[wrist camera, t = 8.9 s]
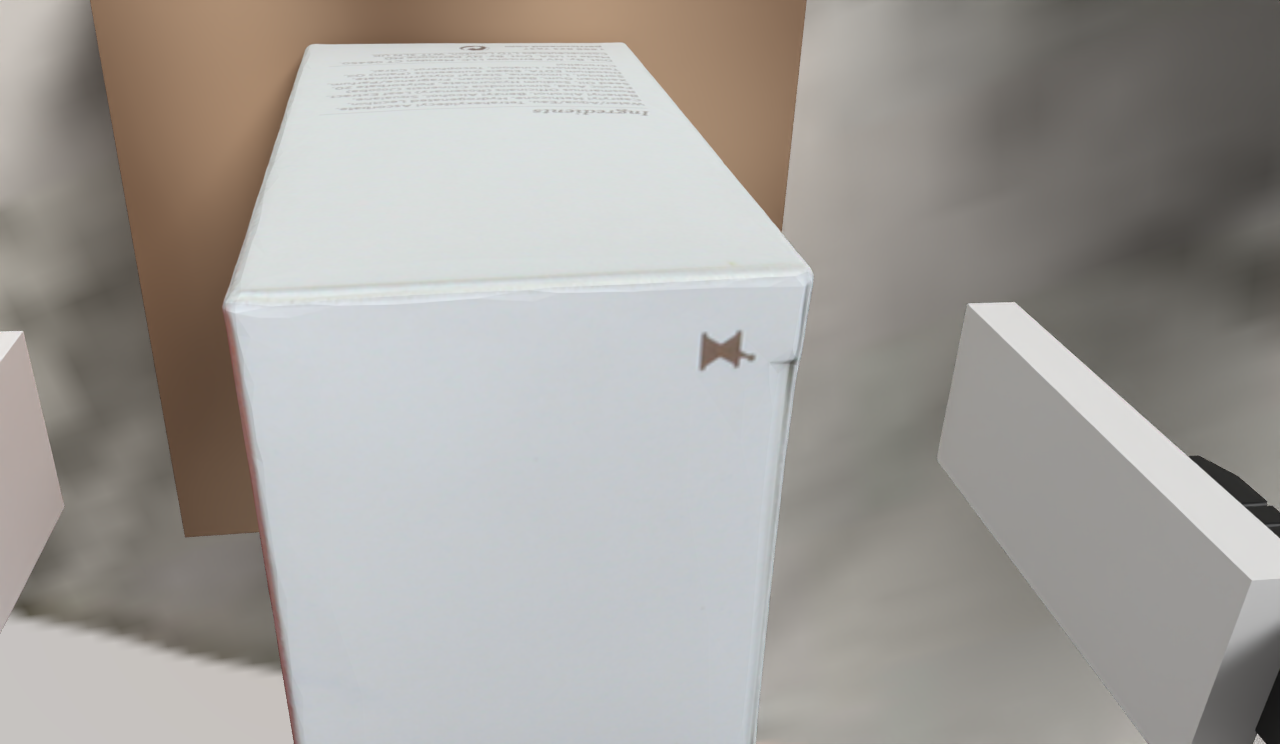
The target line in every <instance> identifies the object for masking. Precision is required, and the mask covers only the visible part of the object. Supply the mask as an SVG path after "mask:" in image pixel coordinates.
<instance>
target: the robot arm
mask: <svg viewBox="0 0 1280 744" xmlns="http://www.w3.org/2000/svg"><path fill="white" fill-rule="evenodd" d="M937 461H938V463H939V464H940V465H941V467H942V468H943V469H944V471H945V472H946V473H947V475H948V476H949V477H950V479H951V480H952V481H953V483H954V484H955V485H956V487H957V488H958V489H959V491H960V492H961V494H962V495H963V496H964V498H965V499H966V500H967V502H968V503H969V504H970V506H971V507H972V508H973V510H974V511H975V512H976V514H977V515H978V516H979V518H980V519H981V520H982V522H983V523H984V524H985V526H986V527H987V528H988V530H989V531H990V532H991V534H992V535H993V536H994V538H995V539H996V540H997V542H998V543H999V544H1000V546H1001V547H1002V549H1003V550H1004V551H1005V553H1006V554H1007V555H1008V557H1009V558H1010V559H1011V561H1012V562H1013V563H1014V565H1015V566H1016V567H1017V569H1018V570H1019V571H1020V573H1021V574H1022V575H1023V577H1024V578H1025V579H1026V581H1027V582H1028V583H1029V585H1030V586H1031V587H1032V589H1033V590H1034V591H1035V593H1036V594H1037V595H1038V597H1039V598H1040V599H1041V601H1042V602H1043V604H1044V605H1045V606H1046V608H1047V609H1048V610H1049V612H1050V613H1051V614H1052V616H1053V617H1054V618H1055V620H1056V621H1057V622H1058V624H1059V625H1060V626H1061V628H1062V629H1063V630H1064V632H1065V633H1066V634H1067V636H1068V637H1069V638H1070V640H1071V641H1072V642H1073V644H1074V645H1075V646H1076V648H1077V649H1078V650H1079V652H1080V653H1081V654H1082V656H1083V657H1084V659H1085V660H1086V661H1087V663H1088V664H1089V665H1090V667H1091V668H1092V669H1093V671H1094V672H1095V673H1096V675H1097V676H1098V677H1099V679H1100V680H1101V681H1102V683H1103V684H1104V685H1105V687H1106V688H1107V689H1108V691H1109V692H1110V693H1111V695H1112V696H1113V697H1114V699H1115V700H1116V701H1117V703H1118V704H1119V705H1120V707H1121V708H1122V710H1123V711H1124V712H1125V714H1126V715H1127V716H1128V718H1129V719H1130V720H1131V722H1132V723H1133V724H1134V726H1135V727H1136V728H1137V730H1138V731H1139V732H1140V734H1141V735H1142V736H1143V738H1144V739H1145V740H1146V742H1147V743H1148V744H1253V742H1254V740H1255V737H1256V735H1257V733H1258V735H1259V736H1260V737H1261V738H1262V739H1263V740H1264V742H1265V743H1266V744H1280V512H1279V511H1278V510H1277V509H1275V508H1274V507H1273V506H1267V501H1266V500H1265V499H1264V498H1263V497H1261V496H1260V495H1259V494H1258V493H1257V492H1256V491H1255V490H1253V489H1252V488H1251V487H1250V486H1249V485H1248V484H1246V483H1245V482H1244V481H1243V480H1242V479H1241V478H1239V477H1238V476H1236V475H1235V474H1233V473H1231V472H1229V471H1227V470H1225V469H1223V468H1221V467H1219V466H1217V465H1216V464H1214V463H1212V462H1210V461H1208V460H1206V459H1204V458H1202V457H1200V456H1187V455H1186V454H1185V453H1183V452H1182V451H1181V450H1180V449H1179V448H1178V447H1177V446H1176V445H1174V444H1173V443H1172V442H1171V441H1170V440H1169V439H1168V438H1167V437H1166V436H1164V435H1163V434H1162V433H1161V432H1160V431H1159V430H1158V429H1157V428H1155V427H1154V426H1153V425H1152V424H1151V423H1150V422H1149V421H1148V420H1146V419H1145V418H1144V417H1143V416H1142V415H1141V414H1140V413H1139V412H1137V411H1136V410H1135V409H1134V408H1133V407H1132V406H1131V405H1130V404H1128V403H1127V402H1126V401H1125V400H1124V399H1123V398H1122V397H1121V396H1119V395H1118V394H1117V393H1116V392H1115V391H1114V390H1113V389H1112V388H1111V387H1109V386H1108V385H1107V384H1106V383H1105V382H1104V381H1103V380H1102V379H1100V378H1099V377H1098V376H1097V375H1096V374H1095V373H1094V372H1093V371H1091V370H1090V369H1089V368H1088V367H1087V366H1086V365H1085V364H1084V363H1082V362H1081V361H1080V360H1079V359H1078V358H1077V357H1076V356H1075V355H1073V354H1072V353H1071V352H1070V351H1069V350H1068V349H1067V348H1066V347H1065V346H1063V345H1062V344H1061V343H1060V342H1059V341H1058V340H1057V339H1056V338H1054V337H1053V336H1052V335H1051V334H1050V333H1049V332H1048V331H1047V330H1045V329H1044V328H1043V327H1042V326H1041V325H1040V324H1039V323H1038V322H1036V321H1035V320H1034V319H1033V318H1032V317H1031V316H1030V315H1029V314H1027V313H1026V312H1025V311H1024V310H1023V309H1022V308H1021V307H1020V306H1018V305H1017V304H1016V303H1015V302H1000V303H967V306H966V312H965V317H964V322H963V327H962V332H961V337H960V342H959V347H958V352H957V358H956V363H955V368H954V373H953V378H952V383H951V388H950V393H949V398H948V403H947V409H946V414H945V419H944V424H943V429H942V434H941V439H940V444H939V449H938V455H937ZM64 507H65V506H64V502H63V498H62V494H61V489H60V485H59V481H58V477H57V472H56V468H55V464H54V459H53V455H52V451H51V447H50V442H49V438H48V434H47V430H46V425H45V421H44V417H43V413H42V408H41V404H40V400H39V396H38V391H37V387H36V383H35V379H34V374H33V370H32V366H31V362H30V357H29V353H28V349H27V345H26V340H25V336H24V332H23V331H5V332H0V633H1V631H2V629H3V627H4V625H5V623H6V621H7V619H8V617H9V615H10V613H11V611H12V609H13V607H14V605H15V604H16V602H17V600H18V598H19V596H20V594H21V592H22V590H23V588H24V586H25V584H26V582H27V580H28V578H29V576H30V574H31V572H32V570H33V568H34V566H35V564H36V562H37V560H38V558H39V556H40V554H41V552H42V550H43V548H44V546H45V544H46V542H47V540H48V538H49V536H50V534H51V532H52V530H53V529H54V527H55V525H56V523H57V521H58V519H59V517H60V515H61V513H62V511H63V509H64Z"/></svg>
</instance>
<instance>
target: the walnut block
mask: <svg viewBox="0 0 1280 744" xmlns="http://www.w3.org/2000/svg"><path fill="white" fill-rule="evenodd" d="M806 1H807V0H90V3H91V8H92V14H93V20H94V25H95V31H96V37H97V42H98V48H99V54H100V59H101V65H102V71H103V76H104V82H105V87H106V93H107V99H108V104H109V110H110V116H111V121H112V127H113V133H114V138H115V144H116V150H117V155H118V161H119V167H120V172H121V178H122V184H123V189H124V195H125V201H126V206H127V212H128V218H129V223H130V229H131V235H132V240H133V246H134V251H135V257H136V263H137V268H138V274H139V280H140V285H141V291H142V297H143V302H144V308H145V314H146V319H147V325H148V331H149V336H150V342H151V348H152V353H153V359H154V365H155V370H156V376H157V382H158V387H159V393H160V399H161V404H162V410H163V415H164V421H165V427H166V432H167V438H168V444H169V449H170V455H171V461H172V466H173V472H174V478H175V483H176V489H177V495H178V500H179V506H180V512H181V517H182V523H183V529H184V534H185V537H196V536H211V535H225V534H239V533H254V532H259V527H258V520H257V514H256V508H255V502H254V496H253V490H252V484H251V478H250V471H249V465H248V459H247V453H246V447H245V441H244V435H243V429H242V423H241V416H240V410H239V405H238V399H237V393H236V387H235V381H234V375H233V369H232V362H231V356H230V350H229V343H228V337H227V331H226V325H225V320H224V315H223V310H222V305H223V301H224V298H225V295H226V293H227V290H228V287H229V285H230V282H231V278H232V275H233V272H234V269H235V266H236V263H237V260H238V257H239V254H240V251H241V248H242V245H243V242H244V239H245V236H246V233H247V229H248V226H249V223H250V220H251V216H252V213H253V210H254V207H255V203H256V200H257V197H258V194H259V191H260V188H261V185H262V182H263V179H264V176H265V172H266V169H267V166H268V163H269V160H270V157H271V154H272V150H273V147H274V144H275V141H276V138H277V135H278V132H279V129H280V126H281V123H282V120H283V117H284V113H285V110H286V106H287V103H288V100H289V97H290V94H291V91H292V88H293V85H294V82H295V78H296V75H297V72H298V69H299V66H300V64H301V61H302V58H303V55H304V52H305V49H306V48H307V47H308V46H309V45H311V44H416V43H615V42H622V43H625V44H626V45H627V46H628V47H629V48H630V50H631V51H632V52H633V53H634V55H635V56H636V57H637V58H638V59H639V60H640V62H641V63H642V64H643V65H644V67H645V68H646V69H647V70H648V71H649V73H650V74H651V75H652V76H653V77H654V78H655V79H656V81H657V82H658V83H659V85H660V86H661V87H662V88H663V89H664V90H665V92H666V93H667V94H668V95H669V96H670V98H671V99H672V100H673V101H674V103H675V104H676V105H677V106H678V108H679V109H680V110H681V111H682V112H683V114H684V115H685V116H686V117H687V119H688V120H689V121H690V122H691V123H692V125H693V126H694V127H695V128H696V129H697V130H698V132H699V133H700V134H701V135H702V137H703V138H704V139H705V140H706V141H707V143H708V144H709V145H710V146H711V148H712V149H713V150H714V151H715V152H716V154H717V155H718V156H719V157H720V159H721V160H722V161H723V163H724V164H725V165H726V166H727V168H728V169H729V170H730V171H731V172H732V173H733V175H734V176H735V177H736V178H737V180H738V181H739V182H740V183H741V184H742V186H743V187H744V188H745V189H746V190H747V192H748V193H749V194H750V195H751V196H752V197H753V199H754V200H755V201H756V202H757V203H758V205H759V206H760V207H761V208H762V209H763V210H764V212H765V213H766V214H767V216H768V217H769V218H770V219H771V221H772V222H773V223H774V224H775V225H776V226H777V227H778V229H779V230H780V232H781V233H782V224H783V215H784V205H785V196H786V187H787V177H788V168H789V159H790V149H791V140H792V131H793V122H794V112H795V103H796V94H797V84H798V75H799V66H800V56H801V47H802V38H803V29H804V19H805V10H806Z"/></svg>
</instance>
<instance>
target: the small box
mask: <svg viewBox="0 0 1280 744" xmlns="http://www.w3.org/2000/svg"><path fill="white" fill-rule="evenodd" d="M813 280H814V275H813V272H812V270H811V268H810V267H809V265H808V264H807V263H806V262H805V261H804V259H803V258H802V257H801V256H800V255H799V254H798V252H797V251H796V250H795V249H794V248H793V246H792V245H791V244H790V243H789V241H788V240H787V239H786V238H785V237H784V235H783V234H782V233H781V232H780V230H779V229H778V227H777V226H776V225H775V224H774V223H773V222H772V221H771V219H770V218H769V217H768V216H767V214H766V213H765V212H764V210H763V209H762V208H761V207H760V206H759V205H758V203H757V202H756V201H755V200H754V199H753V197H752V196H751V195H750V194H749V193H748V192H747V190H746V189H745V188H744V187H743V186H742V184H741V183H740V182H739V181H738V180H737V178H736V177H735V176H734V175H733V173H732V172H731V171H730V170H729V169H728V168H727V166H726V165H725V164H724V163H723V161H722V160H721V159H720V157H719V156H718V155H717V154H716V152H715V151H714V150H713V149H712V148H711V146H710V145H709V144H708V143H707V141H706V140H705V139H704V138H703V137H702V135H701V134H700V133H699V132H698V130H697V129H696V128H695V127H694V126H693V125H692V123H691V122H690V121H689V120H688V119H687V117H686V116H685V115H684V114H683V112H682V111H681V110H680V109H679V108H678V106H677V105H676V104H675V103H674V101H673V100H672V99H671V98H670V96H669V95H668V94H667V93H666V92H665V90H664V89H663V88H662V87H661V86H660V85H659V83H658V82H657V81H656V79H655V78H654V77H653V76H652V75H651V74H650V73H649V71H648V70H647V69H646V68H645V67H644V65H643V64H642V63H641V62H640V60H639V59H638V58H637V57H636V56H635V55H634V53H633V52H632V51H631V50H630V48H629V47H628V46H627V45H626V44H625V43H622V42H615V43H416V44H311V45H309V46H308V47H307V48H306V49H305V52H304V55H303V58H302V61H301V64H300V66H299V69H298V72H297V75H296V78H295V82H294V85H293V88H292V91H291V94H290V97H289V100H288V103H287V106H286V110H285V113H284V117H283V120H282V123H281V126H280V129H279V132H278V135H277V138H276V141H275V144H274V147H273V150H272V154H271V157H270V160H269V163H268V166H267V169H266V172H265V176H264V179H263V182H262V185H261V188H260V191H259V194H258V197H257V200H256V203H255V207H254V210H253V213H252V216H251V220H250V223H249V226H248V229H247V233H246V236H245V239H244V242H243V245H242V248H241V251H240V254H239V257H238V260H237V263H236V266H235V269H234V272H233V275H232V278H231V282H230V285H229V287H228V290H227V293H226V295H225V298H224V301H223V305H222V310H223V315H224V320H225V325H226V331H227V337H228V343H229V350H230V356H231V362H232V369H233V375H234V381H235V387H236V393H237V399H238V405H239V410H240V416H241V423H242V429H243V435H244V441H245V447H246V453H247V459H248V465H249V471H250V478H251V484H252V490H253V496H254V502H255V508H256V514H257V520H258V527H259V533H260V539H261V545H262V551H263V558H264V564H265V570H266V576H267V582H268V589H269V595H270V600H271V605H272V611H273V617H274V623H275V630H276V636H277V643H278V649H279V656H280V662H281V668H282V674H283V680H284V686H285V692H286V698H287V704H288V709H289V716H290V722H291V728H292V734H293V740H294V744H756V735H757V722H758V710H759V700H760V691H761V681H762V671H763V660H764V650H765V640H766V631H767V623H768V612H769V602H770V593H771V583H772V574H773V565H774V556H775V547H776V538H777V529H778V520H779V512H780V503H781V491H782V484H783V477H784V466H785V457H786V451H787V444H788V437H789V429H790V422H791V414H792V406H793V398H794V391H795V383H796V377H797V372H798V367H799V363H800V359H801V355H802V349H803V343H804V336H805V330H806V323H807V317H808V311H809V305H810V299H811V294H812V287H813Z"/></svg>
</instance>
